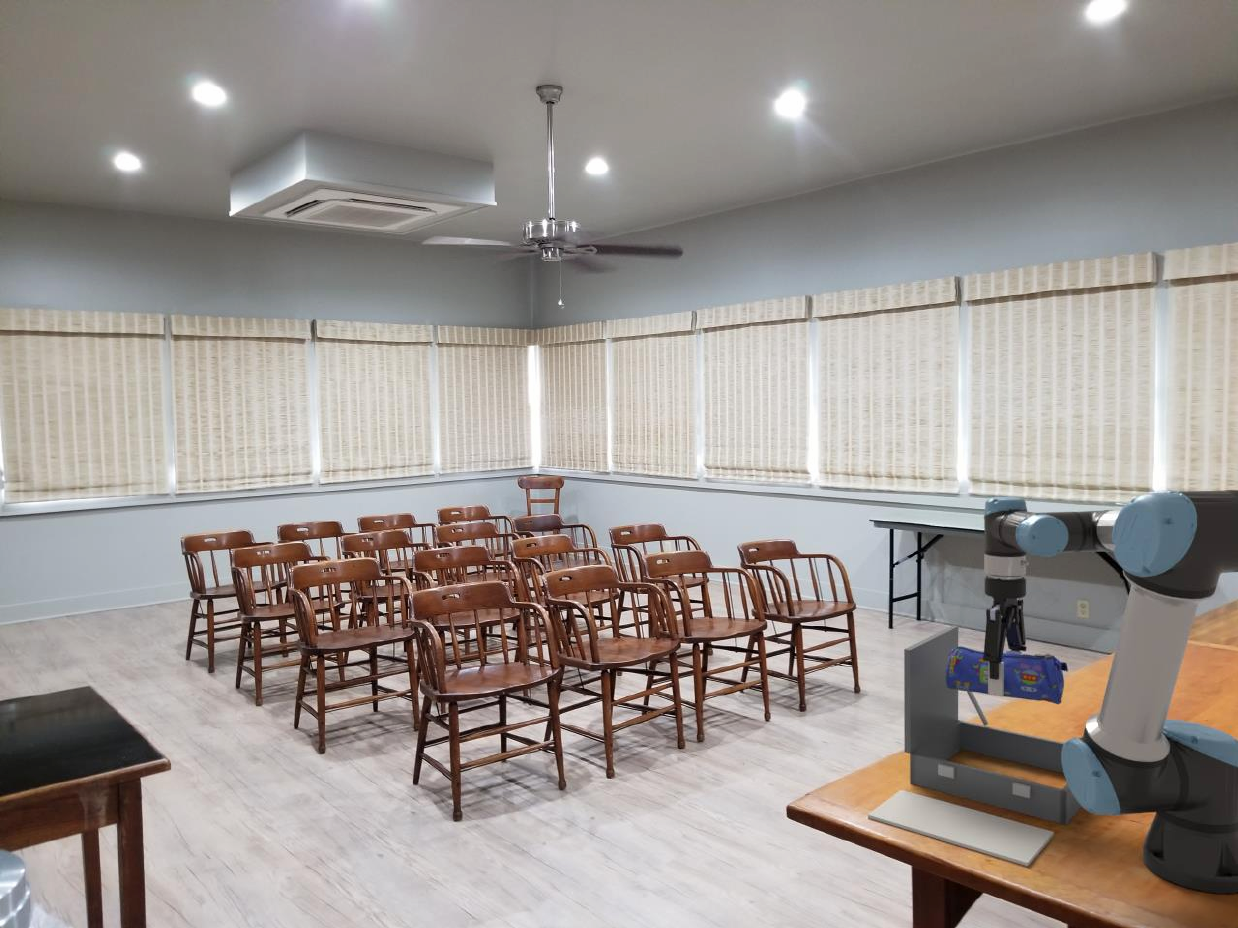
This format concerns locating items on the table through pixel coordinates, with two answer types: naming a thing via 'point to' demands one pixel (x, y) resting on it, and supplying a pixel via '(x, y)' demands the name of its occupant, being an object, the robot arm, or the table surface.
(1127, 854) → the table surface
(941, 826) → the grey mat
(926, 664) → the case
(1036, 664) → the pencil case
